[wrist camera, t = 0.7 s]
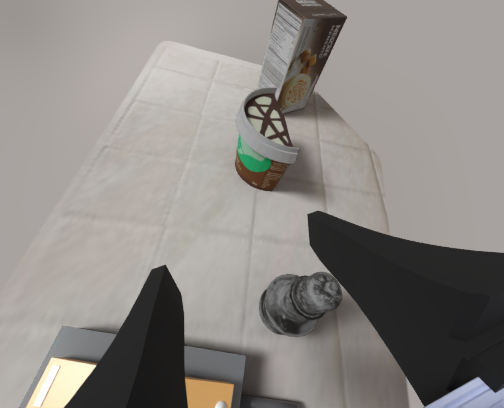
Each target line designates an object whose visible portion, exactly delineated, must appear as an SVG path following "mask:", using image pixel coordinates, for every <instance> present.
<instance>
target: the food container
mask: <svg viewBox="0 0 504 408" xmlns="http://www.w3.org/2000/svg"><path fill="white" fill-rule="evenodd" d="M276 90H277V87H265V88H260V89H257V90H255V91H253V92H251V93H250V94H249V95H248V96H247V97H246V98H245V100H244V101H243V102H242V104H241V106H240V108H239V111H238V113H237V115H236V126H237V129H238V132H239V138H238V146H237V153H236V161H235V167H236V170H237V172H238V174H239V176H240V177H241V178H242V179H243V180H244V181H245V182H246V183H247V184H249V185H250V186H252V187H254V188H257V189H260V190H265V191H272V190H273V189H274V187H275V186H276V184H277V183H278V181H279V180H280V178H281V177H282V175H283V174H284V172H285V171H286V169H287V168H288V166H289V165H290V164H294V163H295V161H296V158H297V155H298V151H299V149H300V148H294V147H293V146H292V143H291V140H290V137H289V134H288V130H287V125H286V121H285V118H284V116H283V114H282V112H281V110H280V108H279V106H278V103H277V100H276V97H275V94H276Z"/></svg>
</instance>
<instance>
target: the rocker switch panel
mask: <svg viewBox="0 0 504 408" xmlns="http://www.w3.org/2000/svg"><path fill="white" fill-rule="evenodd" d="M116 335H117V334H111V333H105V332H99V331H93V330H87V329H81V328H74V327H68V326H62V327H61V329H60V331H59V333H58V335H57V337H56V339H55V341H54V342H53V344H52V346H51V348H50V350H49V352H48V354H47V356H46V358H45V359H44V361H43V363H42V365H41V367H40V369H39V371H38V373H37V375H36V377H35V378H34V380H33V382H32V384H31V386H30V388H29V390H28V392H27V394H26V396H25V397H24V399H23V401H22V403H21V405H20V407H19V408H26V406H27V404H28V402H29V401H30V399H31V397H32V395H33V393H34V391H35V389H36V387H37V385H38V383H39V381H40V379H41V377H42V375H43V373H44V371H45V369H46V367H47V366H48V364H49V362H50V360H51V358H52V357H64V358H70V359H75V360H81V361H87V362H92V363H98V362H99V361H100V359H101V358H102V357H103V355H104V354H105V352H106V351H107V349H108V348H109V346H110V345H111V343H112V342H113V340H114V338H115V337H116ZM245 361H246V356H244V355H239V354H233V353H227V352H221V351H215V350H209V349H203V348H197V347H190V346H184V362H185V377H191V378H199V379H207V380H216V381H224V382H230V383H232V384H234V388H233V395H232V402H231V408H301V407H300V405H299V404H298V403H295V402H288V401H281V400H274V399H267V398H260V397H253V396H246V395H241V392H242V384H243V377H244V369H245Z"/></svg>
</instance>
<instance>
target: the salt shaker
mask: <svg viewBox="0 0 504 408" xmlns="http://www.w3.org/2000/svg"><path fill="white" fill-rule="evenodd" d="M341 300H342V290H341V287H340V285H339V283H338V281H337V280H336V279H335V278H334V277H333V276H332V275H330V274H328V273H326V272H317V273H314V274H312V275H311V276H301V277H299V276H297V275H292V274H286V275H281V276H279V277H277V278H276V279H274V280H273V281H272V282H271V283H270V285H269V287H268V288H267V289H266V290H265V291H264V293H263V294H262V296H261V299H260V302H259V311H260V316H261V318H262V321H263V323H264V324H265V325H266V327H267V328H268V329H270V330H271V331H272V332H274V333H277V334H281V335H287V336H291V337H300V336H304V335H306V334H308V333H309V332H311V331H312V330H313V328H314V327H315V326H316V324H317V322H318V319H319V318H321V317H322V316H323V315H324V314H325V312H327V311H331V310H334V309H335V308H337V307H338V306H339V304H340V303H341Z"/></svg>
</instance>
